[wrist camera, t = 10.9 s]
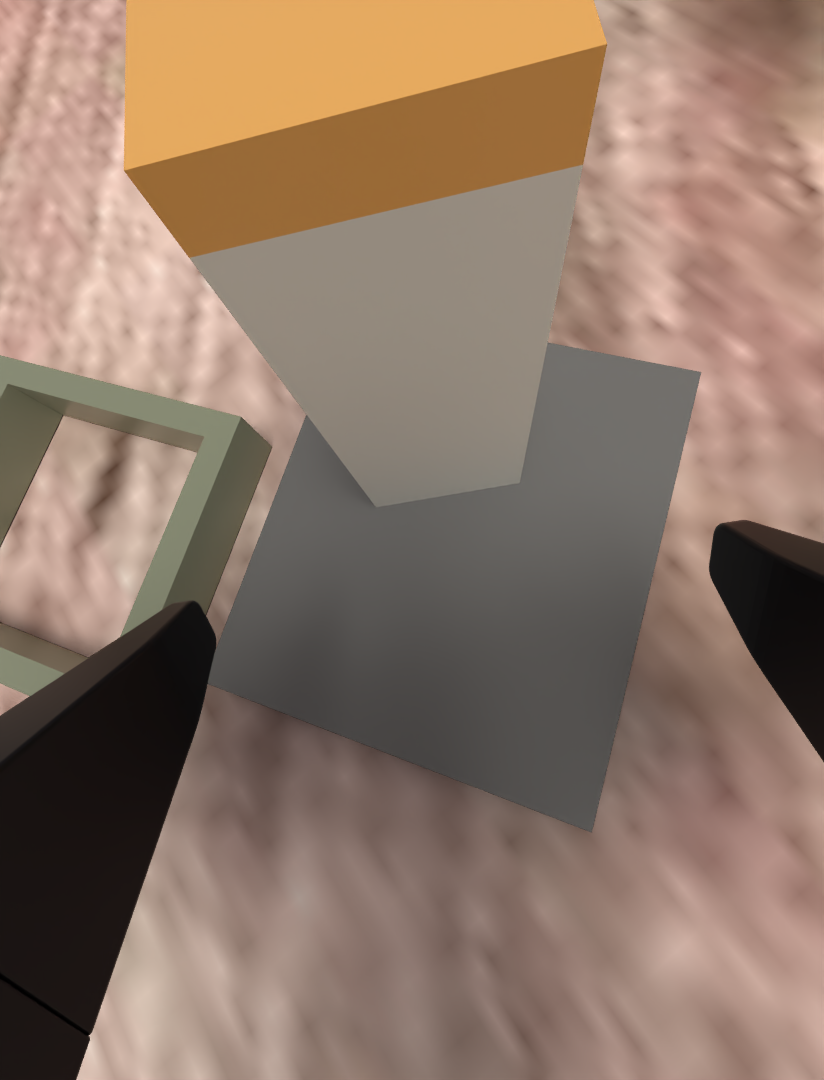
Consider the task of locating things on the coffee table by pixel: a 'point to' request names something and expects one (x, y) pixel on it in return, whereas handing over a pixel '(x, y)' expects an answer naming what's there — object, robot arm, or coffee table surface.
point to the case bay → (196, 522)
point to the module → (376, 206)
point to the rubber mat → (474, 593)
